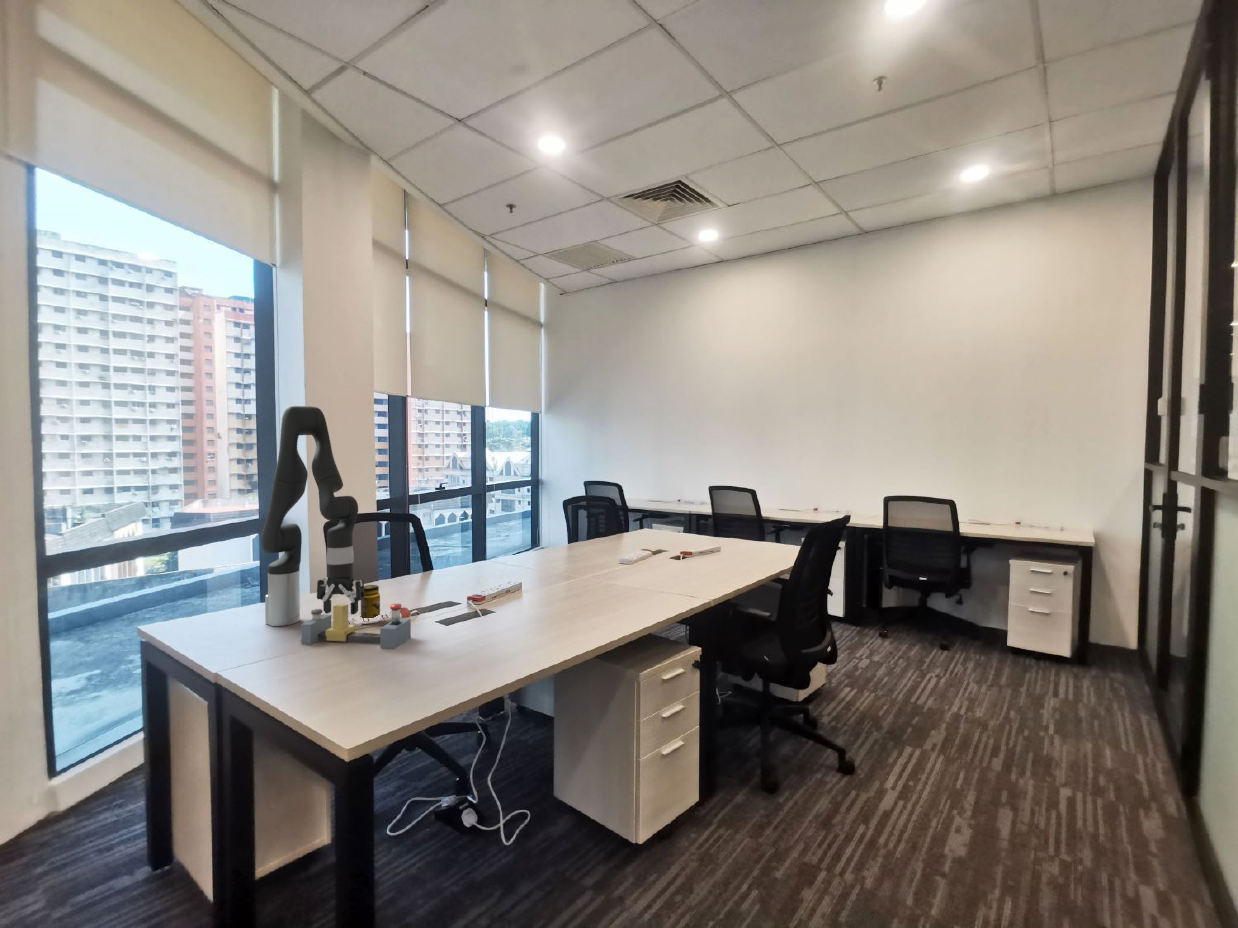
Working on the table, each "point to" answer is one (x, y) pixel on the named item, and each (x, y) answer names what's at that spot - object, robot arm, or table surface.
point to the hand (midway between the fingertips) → (340, 613)
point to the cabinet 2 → (395, 634)
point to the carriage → (340, 624)
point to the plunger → (395, 613)
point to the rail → (355, 637)
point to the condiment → (370, 602)
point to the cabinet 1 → (314, 626)
